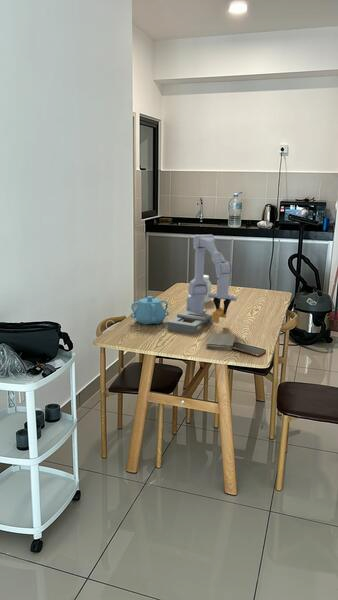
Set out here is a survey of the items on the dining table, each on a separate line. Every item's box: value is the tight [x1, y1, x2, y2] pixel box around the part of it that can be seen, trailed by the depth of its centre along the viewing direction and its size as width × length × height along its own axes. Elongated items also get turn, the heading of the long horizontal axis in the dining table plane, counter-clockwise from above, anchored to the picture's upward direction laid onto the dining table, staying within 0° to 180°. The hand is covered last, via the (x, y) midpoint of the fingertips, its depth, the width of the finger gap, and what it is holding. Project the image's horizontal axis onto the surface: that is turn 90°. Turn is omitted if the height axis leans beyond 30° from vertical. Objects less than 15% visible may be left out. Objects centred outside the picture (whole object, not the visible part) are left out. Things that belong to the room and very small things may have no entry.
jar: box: [204, 274, 212, 303], centre depth 289 cm, size 12×10×15 cm
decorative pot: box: [130, 295, 170, 326], centre depth 244 cm, size 20×20×14 cm
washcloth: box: [205, 332, 237, 352], centre depth 215 cm, size 12×18×3 cm, turn 168°
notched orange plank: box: [211, 306, 227, 324], centre depth 236 cm, size 12×3×5 cm, turn 154°
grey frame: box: [166, 310, 213, 335], centre depth 240 cm, size 15×22×6 cm
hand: (221, 313), depth 239 cm, fingers closed on notched orange plank, 3 cm apart
